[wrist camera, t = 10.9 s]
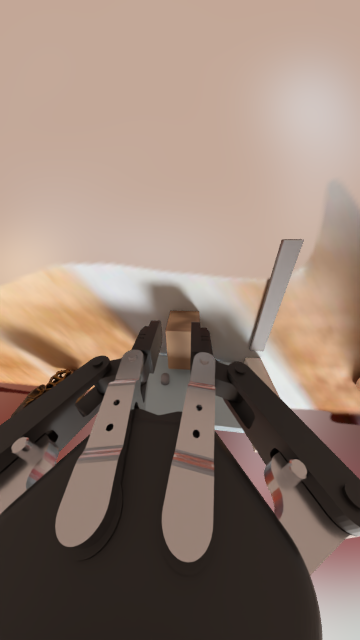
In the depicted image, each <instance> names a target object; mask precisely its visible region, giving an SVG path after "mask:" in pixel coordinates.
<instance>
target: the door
mask: <svg viewBox="0 0 360 640" xmlns="http://www.w3.org/2000/svg"><path fill="white" fill-rule="evenodd" d="M218 362H220V363H223V364H226V365H230V364H231V363H232V362H222V361H218ZM190 376H191V375H190V370H184V369H168V357H167V356H164V355H158V359H157V363H156V367H155V371H154V374H152V373H149V377H148V390H147V398H146V411H148V412H151V413H154V414H156V415H163V414H167V413H172V412H177V411H180V412H183V407H184V402H185V396H186V391H187V386H188V383H189V381H190ZM214 430H222V431H232V432H240V433H245V432H244V431H243V429H242V428H241V426H240V425H239V423H238V422H237V420H236V418H235V417H234V415H233V414H232V412H231V411H230V409H229V408H228V406H227V405H226V403H225V402H224V400H223V398H221V397H219V396H216V395H215V429H214Z"/></svg>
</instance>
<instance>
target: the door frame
mask: <svg viewBox="0 0 360 640" xmlns="http://www.w3.org/2000/svg"><path fill="white" fill-rule="evenodd" d="M303 241H304V240H302V239H288V240H287V239H285V240H282V241H281V244H280V248H279V251H278V254H277V257H276V261H275V264H274V268H273V271H272V274H271V278H270V281H269V284H268V288H267V291H266V295H265V298H264V301H263V305H262V308H261V311H260V315H259V318H258V321H257V325H256V328H255V332H254V335H253V338H252V342H251V345H250V348H249V349H250V351H264V348H265V345H266V342H267V340H268V337H269V334H270V332H271V329H272V326H273V323H274V321H275V318H276V315H277V312H278V310H279V307H280V304H281V301H282V299H283V296H284V293H285V290H286V288H287V285H288V282H289V279H290V277H291V274H292V271H293V268H294V266H295V263H296V260H297V257H298V254H299V252H300V249H301V246H302V244H303ZM244 364H246V365H247V366H249V367H250V368H251V369H252V370H253V371H254V372H255V373H256V375H257V376H258V377H259V378H260V379H261V380H262V381H263V382H264V383H265V384H266V385H267V386H268V387H269V388H270V389H271V390H272V391H273V392H274V393H275V394H276V395H277V396H278V397H279V395H278V393H277V391H276V389H275V387H274V385H273V383H272V381H271V379H270V377H269V375H268V373H267V371H266V369H265V367H264V364H263V362H262V360H261V358H245V360H244ZM279 398H280V397H279ZM252 446H253V444H252ZM253 449H254V452H257V450H256V449H255V447H254V446H253ZM257 453H258V452H257Z"/></svg>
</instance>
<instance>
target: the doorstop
mask: <svg viewBox="0 0 360 640" xmlns="http://www.w3.org/2000/svg"><path fill="white" fill-rule="evenodd" d="M191 322H200V315H199V311H170V315H169V319H168V323H167V327H166V331H165V332H166V344H167V357H168V369H184V370H190V352H191Z"/></svg>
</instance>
